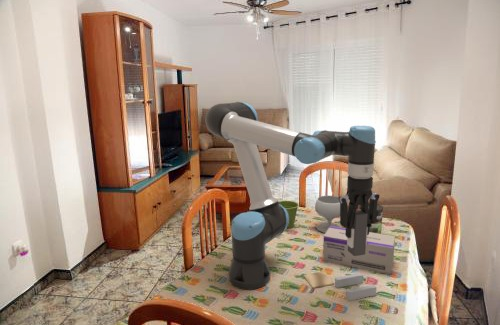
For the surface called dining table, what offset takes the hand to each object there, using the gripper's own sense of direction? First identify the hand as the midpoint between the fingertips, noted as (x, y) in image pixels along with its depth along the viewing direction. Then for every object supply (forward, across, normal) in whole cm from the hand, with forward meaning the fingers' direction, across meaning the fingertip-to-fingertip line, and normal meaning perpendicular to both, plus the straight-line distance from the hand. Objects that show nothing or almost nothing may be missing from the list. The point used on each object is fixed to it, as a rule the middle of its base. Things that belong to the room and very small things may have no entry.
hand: (356, 245), depth 109 cm
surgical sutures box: (+17, +12, +17) cm, 27 cm away
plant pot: (+17, -2, +58) cm, 60 cm away
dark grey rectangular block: (+3, 0, 0) cm, 3 cm away
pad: (+17, -9, +9) cm, 21 cm away
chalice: (+17, +16, +48) cm, 53 cm away
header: (+17, 0, 0) cm, 17 cm away
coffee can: (+17, +30, +36) cm, 50 cm away
